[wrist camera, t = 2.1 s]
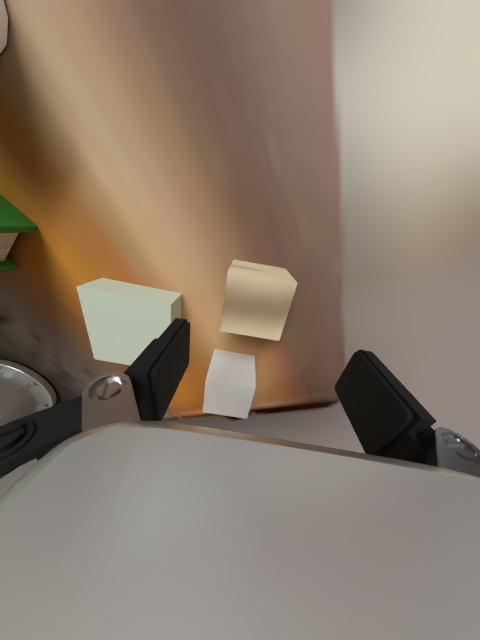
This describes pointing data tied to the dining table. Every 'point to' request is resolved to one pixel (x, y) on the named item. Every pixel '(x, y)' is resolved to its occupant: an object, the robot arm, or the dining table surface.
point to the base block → (125, 317)
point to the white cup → (3, 25)
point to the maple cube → (257, 300)
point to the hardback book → (11, 230)
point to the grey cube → (230, 384)
